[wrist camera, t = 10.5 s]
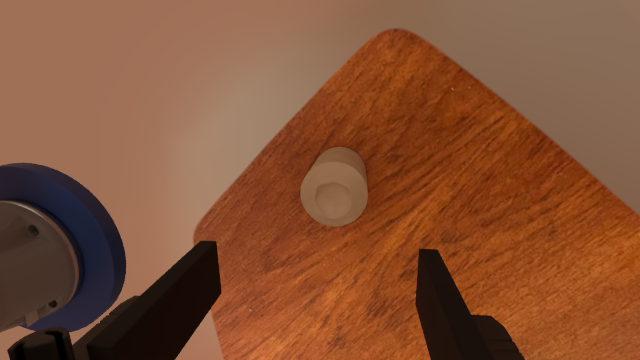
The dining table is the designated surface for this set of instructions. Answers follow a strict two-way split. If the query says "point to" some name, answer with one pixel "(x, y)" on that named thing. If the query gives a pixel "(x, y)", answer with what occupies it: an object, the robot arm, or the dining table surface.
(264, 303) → the dining table surface
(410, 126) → the dining table surface
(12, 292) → the robot arm
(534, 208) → the dining table surface
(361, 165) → the candle
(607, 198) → the dining table surface
